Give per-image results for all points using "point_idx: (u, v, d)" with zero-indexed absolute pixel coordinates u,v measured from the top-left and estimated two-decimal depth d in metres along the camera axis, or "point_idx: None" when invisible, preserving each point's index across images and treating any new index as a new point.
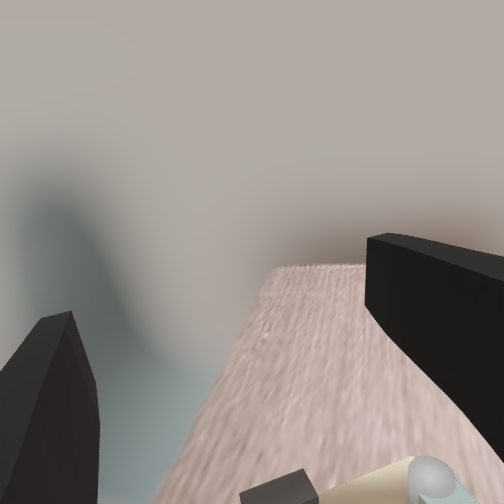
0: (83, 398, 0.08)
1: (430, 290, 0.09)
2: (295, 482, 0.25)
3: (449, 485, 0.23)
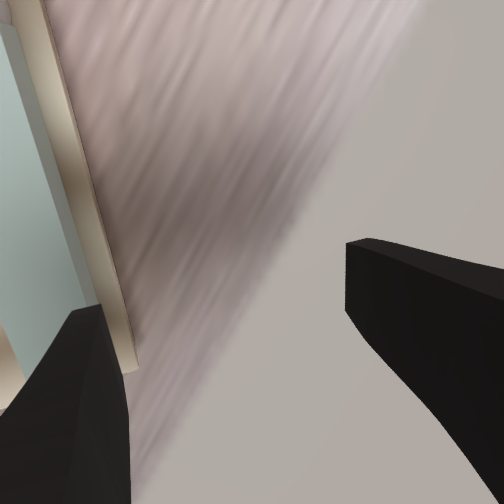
0: (115, 388, 0.08)
1: (406, 297, 0.09)
2: None
3: None
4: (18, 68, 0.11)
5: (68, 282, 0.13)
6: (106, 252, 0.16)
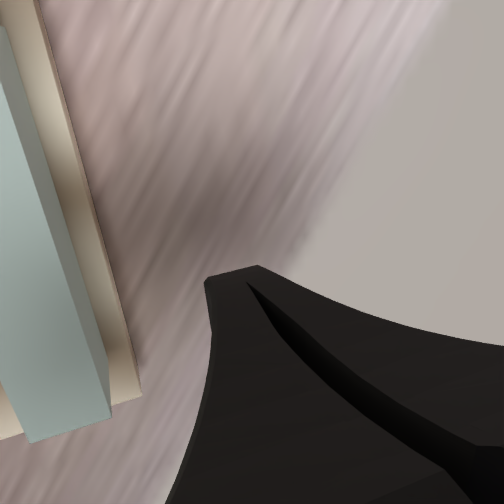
0: None
1: None
2: None
3: None
4: (7, 73, 0.10)
5: (64, 312, 0.11)
6: (107, 273, 0.15)
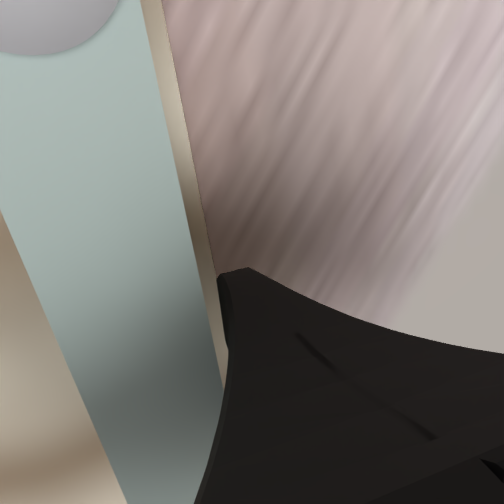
0: None
1: None
2: None
3: (75, 22, 0.05)
4: None
5: (209, 396, 0.08)
6: None
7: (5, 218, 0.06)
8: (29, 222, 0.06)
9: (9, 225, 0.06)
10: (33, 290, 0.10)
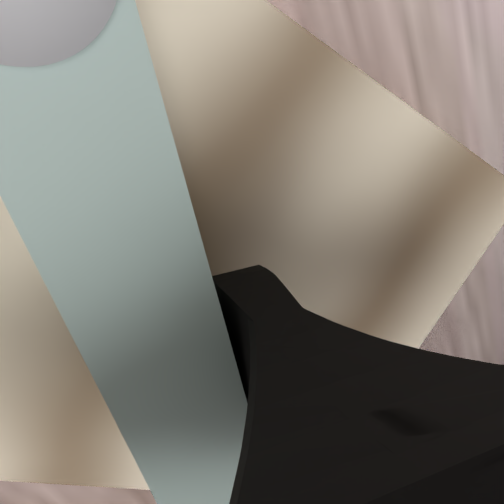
0: None
1: (246, 344, 0.08)
2: None
3: (73, 31, 0.05)
4: None
5: (228, 391, 0.08)
6: (404, 104, 0.11)
7: (18, 228, 0.06)
8: (41, 231, 0.06)
9: (22, 235, 0.06)
10: (253, 212, 0.11)
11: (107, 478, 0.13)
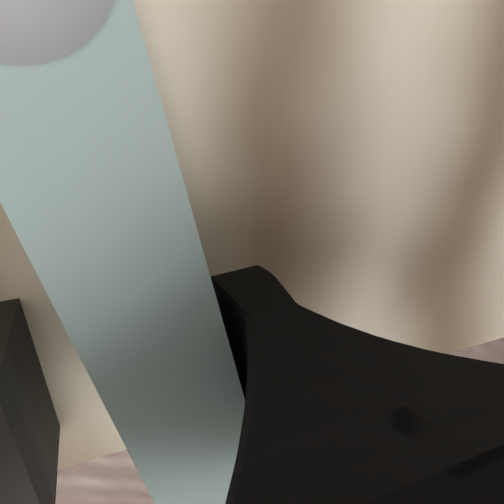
0: None
1: (248, 344, 0.08)
2: None
3: (70, 29, 0.05)
4: None
5: (227, 392, 0.08)
6: None
7: (15, 228, 0.06)
8: (38, 231, 0.06)
9: (19, 235, 0.06)
10: (327, 91, 0.10)
11: None
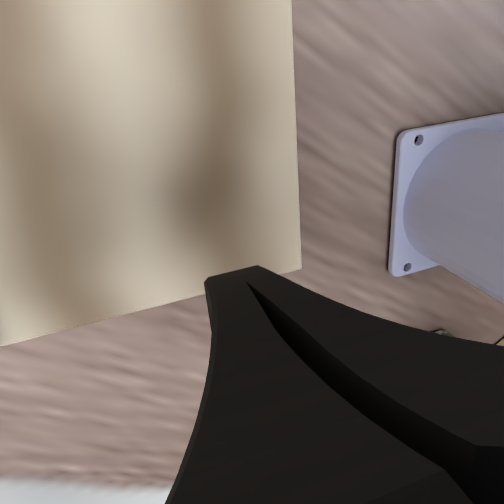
0: None
1: None
2: None
3: None
4: None
5: None
6: None
7: None
8: None
9: None
10: (48, 66, 0.13)
11: (112, 310, 0.17)
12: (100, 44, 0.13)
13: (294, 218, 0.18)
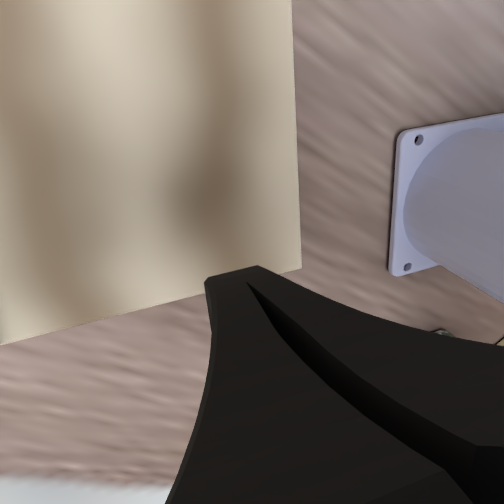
0: None
1: None
2: None
3: None
4: None
5: None
6: None
7: None
8: None
9: None
10: (50, 66, 0.13)
11: (113, 308, 0.17)
12: (101, 44, 0.13)
13: (294, 217, 0.18)
